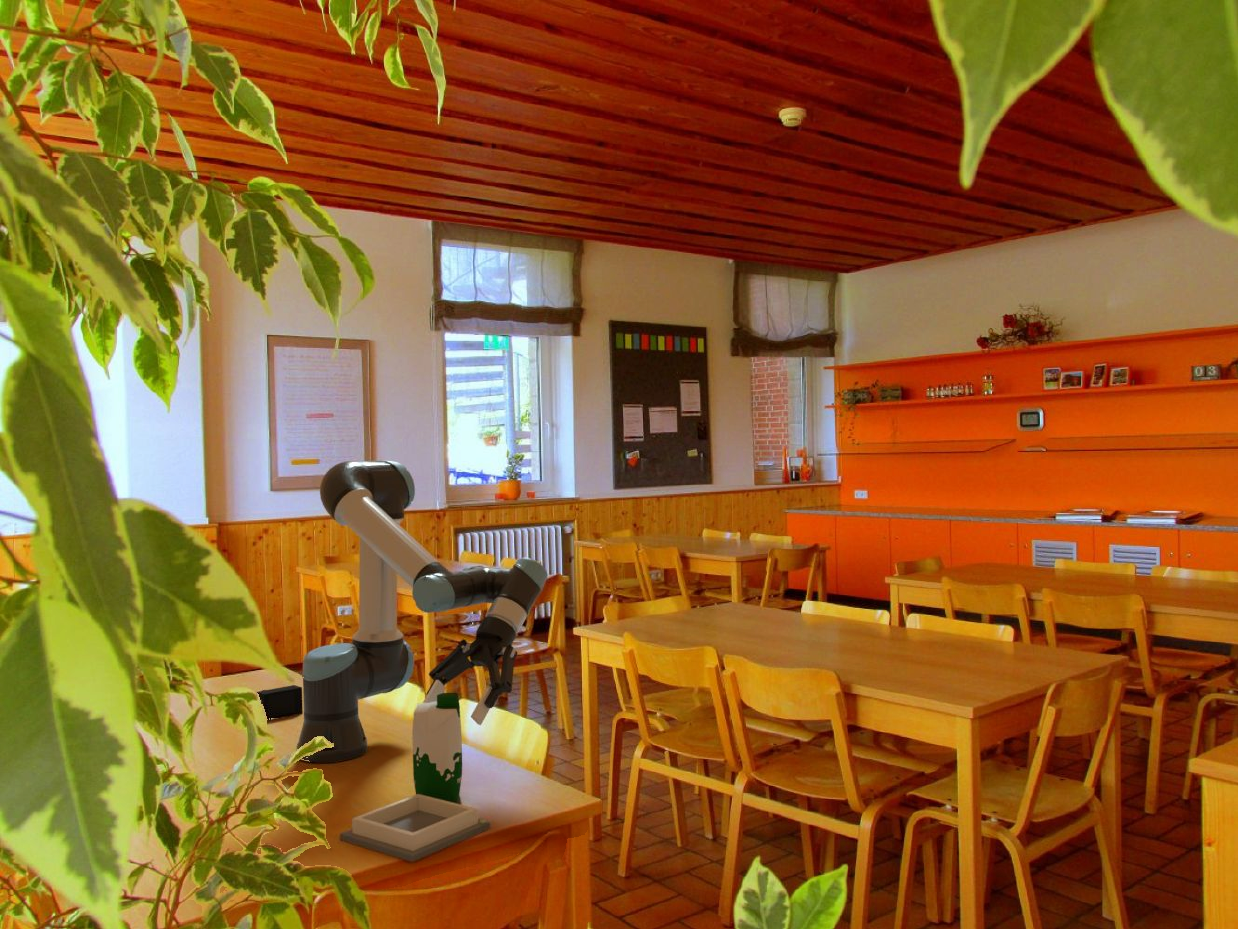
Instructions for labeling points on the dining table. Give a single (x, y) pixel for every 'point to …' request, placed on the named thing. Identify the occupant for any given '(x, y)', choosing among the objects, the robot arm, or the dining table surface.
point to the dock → (415, 827)
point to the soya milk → (438, 748)
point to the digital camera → (282, 701)
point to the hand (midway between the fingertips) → (449, 716)
